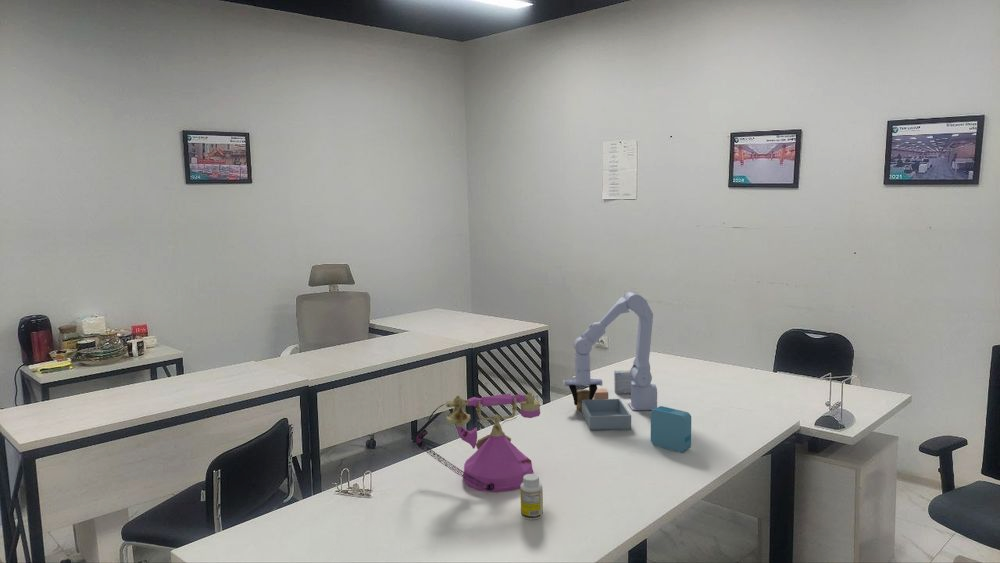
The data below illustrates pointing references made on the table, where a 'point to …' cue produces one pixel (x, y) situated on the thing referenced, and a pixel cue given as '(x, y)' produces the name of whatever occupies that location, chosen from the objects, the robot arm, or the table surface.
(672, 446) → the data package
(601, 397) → the terracotta cube
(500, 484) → the telephone
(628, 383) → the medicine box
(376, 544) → the table surface
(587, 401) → the tote
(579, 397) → the walnut cylinder
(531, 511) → the supplement bottle
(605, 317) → the robot arm
